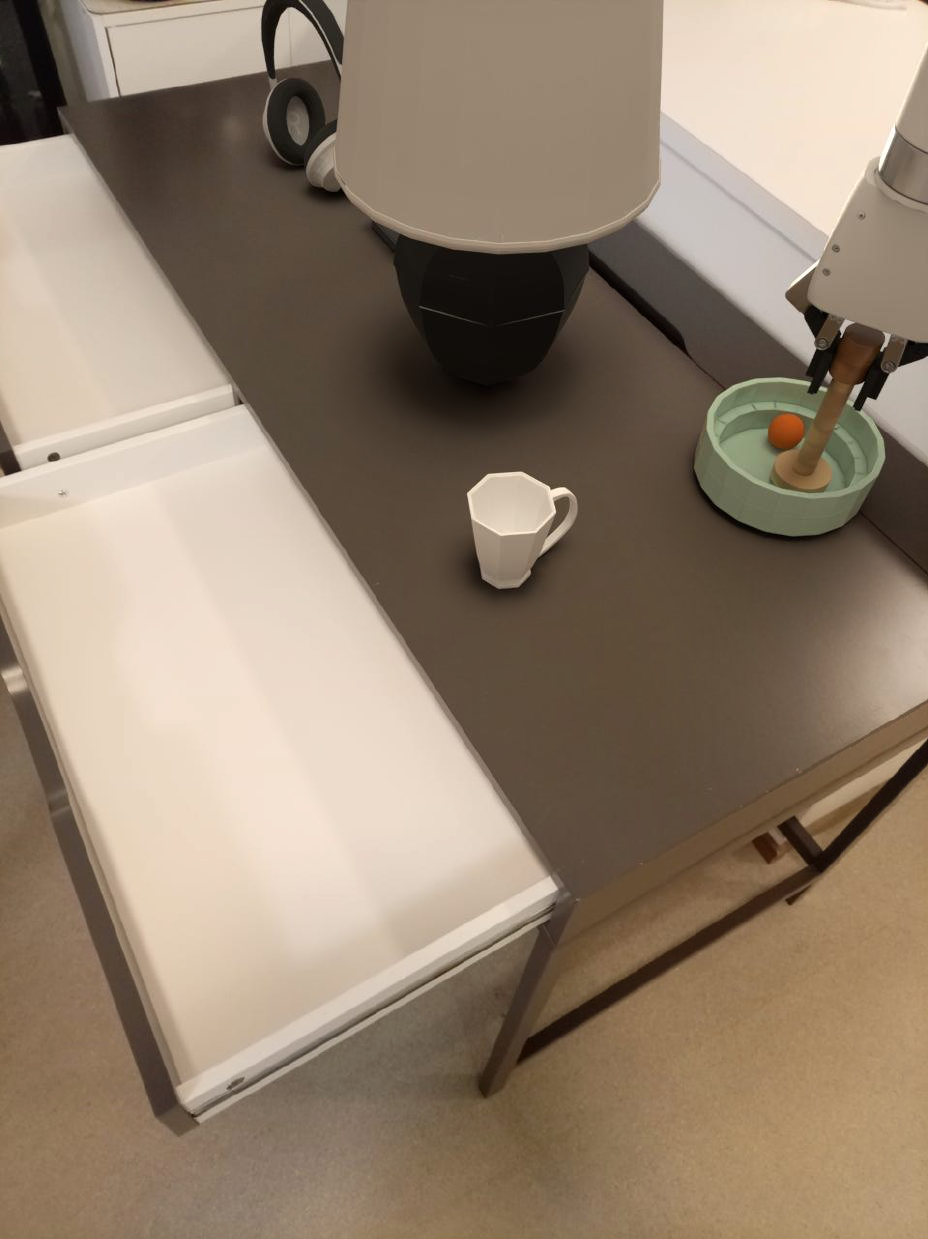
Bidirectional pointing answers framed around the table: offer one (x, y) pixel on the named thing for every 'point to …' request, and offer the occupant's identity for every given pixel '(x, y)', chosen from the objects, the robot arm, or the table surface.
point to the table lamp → (498, 158)
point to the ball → (786, 431)
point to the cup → (514, 524)
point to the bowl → (744, 455)
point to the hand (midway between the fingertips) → (838, 391)
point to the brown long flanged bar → (829, 412)
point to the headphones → (301, 97)
